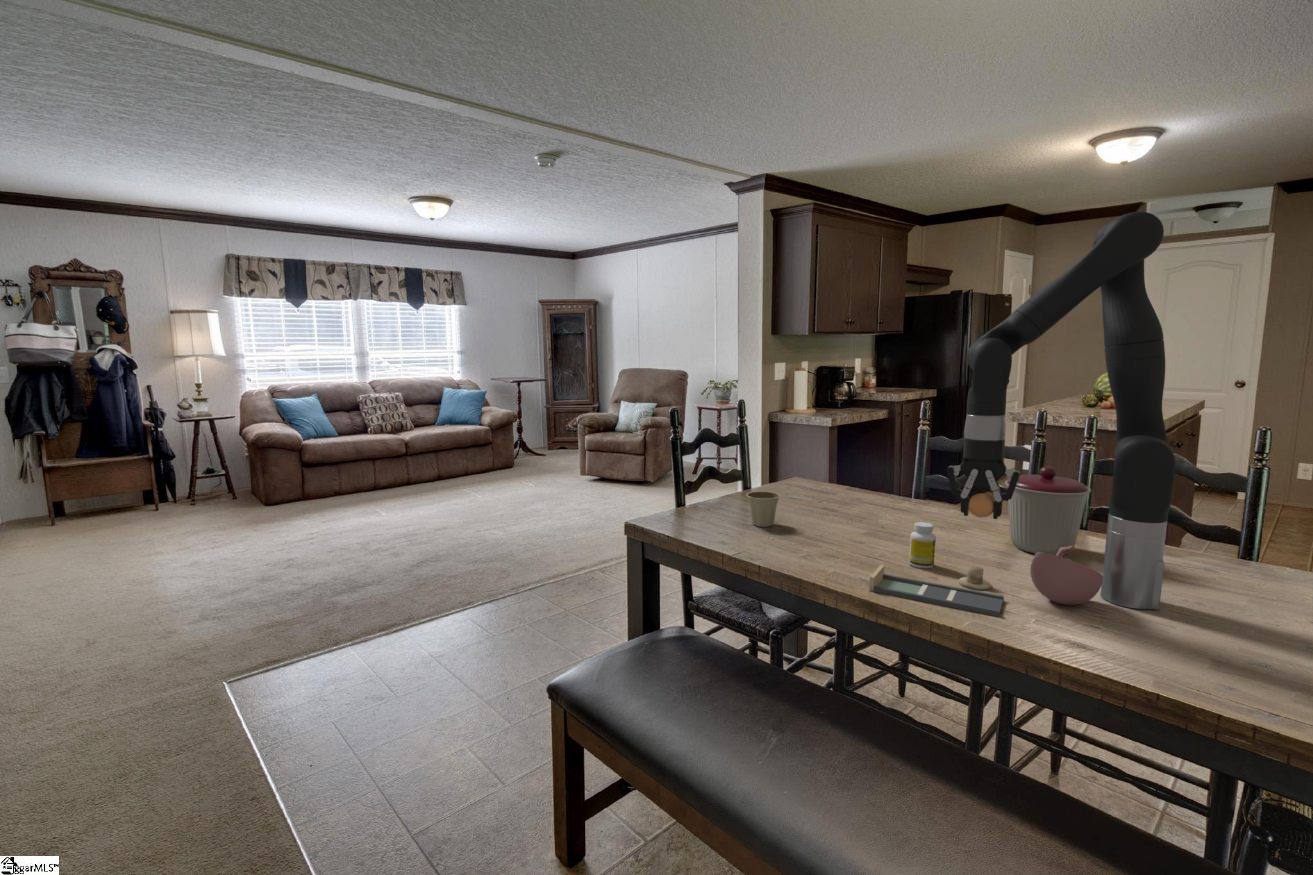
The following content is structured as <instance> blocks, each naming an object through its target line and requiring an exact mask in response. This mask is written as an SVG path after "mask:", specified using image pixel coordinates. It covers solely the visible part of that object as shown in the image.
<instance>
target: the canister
mask: <svg viewBox="0 0 1313 875" xmlns="http://www.w3.org/2000/svg"><path fill="white" fill-rule="evenodd" d="M1004 484H1005V485H1006V487H1007V488H1008V487H1009V484H1010V480H1008V479H1006V480H1005V481H1004ZM1091 491H1092V489H1091V488H1090V487H1088V486H1086V485H1085V484H1084V483H1083V482H1081V481H1078V480H1075V479H1072V478H1069V477H1063V476H1062V477H1061V476H1057V470H1056V468H1054V467H1052V466H1042V467H1041V468H1040V469H1039V474H1020V476H1019V479H1018V482H1017V484H1016V487H1015V490H1014V493H1013V496H1012V498H1011V499H1010V500H1007V501H1008V502H1007V503H1008V504H1007V505H1008V506H1007V507H1008V522H1009V523H1008V524H1009V525H1008V526H1009V534H1010V539H1011V543H1012V544H1013V545H1014V547H1016V548H1018V549H1020V551H1021V550H1022V551H1024V552H1027V553H1031V554H1034V555H1035V554H1036V553H1037V552H1042V553H1051V554H1053V555H1056V554H1057V552H1058V551H1059V549H1060V548H1061V547H1069V546H1074V547H1075V545H1076V543H1077V539H1078V535H1079V531H1080V528H1081V524H1082V519H1083V515H1084V511H1085V506H1086V502H1087V497H1088V495H1089V494H1091ZM1069 553H1072V551H1070V552H1067V553H1065V554H1064V555H1063V556H1065V555H1068V554H1069Z"/></svg>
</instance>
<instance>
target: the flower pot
mask: <svg viewBox="0 0 1313 875" xmlns="http://www.w3.org/2000/svg"><path fill="white" fill-rule="evenodd" d="M746 497H747V500H748V502H749V511H750V516H751V517H750V520H751V525H753V526H757V527H760V528H762V527H763V528H767V527H768V528H769V527H771V526H774V525H775V519H776V513H777V506H778V502H779V498H781V495H780V494H779V493H777V492H772V491H763V490H762V491H751V492H747V493H746Z"/></svg>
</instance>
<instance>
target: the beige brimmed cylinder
mask: <svg viewBox="0 0 1313 875" xmlns="http://www.w3.org/2000/svg"><path fill="white" fill-rule="evenodd" d="M958 584H959V585H960V586H962V587H963V588H965V589H968V590H974V591H986V590H989V589H991V583H990V581H988V580H986V579H984V568H983V567H980V566H977V565H976V566H975V565H970V566H967V575H966V576H963V577H960V578H959V580H958Z"/></svg>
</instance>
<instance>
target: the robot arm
mask: <svg viewBox="0 0 1313 875" xmlns="http://www.w3.org/2000/svg"><path fill="white" fill-rule="evenodd" d="M1164 232H1165V230H1164V225H1163V223H1162V221H1161V220H1160V218H1159V217H1158V216H1156V215H1155V214H1153V213H1151V212H1146V211H1133V212H1132V211H1131V212H1129V213H1125V214H1122V215H1121V216H1118V217H1116V218H1115V219H1113V220H1112V221H1110V222H1108V223H1107V224H1104V226H1102V227H1101V228H1100V229H1099V230H1098V232H1097V233H1096V235H1095V236H1094V239H1093V241H1092V248H1091V249H1090V250H1089V251H1088V252H1087V253H1086V254H1085V255H1084V256H1083V257H1082V258H1080V260H1078V261H1077V262H1076V263H1075V264H1074V265H1072V266H1071V267H1069V269H1067V270H1065V272H1063V273H1062V274H1060V275H1059V276H1057V277H1056V278H1055V279H1053V280H1052V281H1050V282H1049V283H1048V284H1046V285H1045V286H1043V287H1042V288H1041V289H1040V290H1038V291H1037V292H1035V294H1033V295H1032V296H1031V297H1029V298H1028V299H1027V300H1025V301H1024V302H1023V303H1022V304H1021V305H1019V307H1017V308H1016V309H1015V310H1014V311H1013V312H1012V313H1011V314H1010V315H1009V316H1008V317H1007V318H1005V319H1004V320H1003V321H1001V322H1000V323H999V324H998V325H996V326H994V327H993V328H991V329H990V330H988V331H987V332H986V333H984V334H983V335H981V337H979V338H978V339H976V340H975V341H974V342H973V343H972V344H971V345H970V346H969V349H968V350H967V352H966V353H967V354H966V362H967V364H968V366H969V367H970V368H971V369H972V381H971V387H970V388H969V389H968V392H967V393H968V394H967V399H966V400H967V403H966V419H965V424H964V430H963V456H962V457H963V458H962V461H961V463H960V464H959V465H953V464H952V465H949V466H947V467H946V473H947V478H948V482H949V486H950V487H949V488H950V492H951V494H952V495H956V496H957V497H959V498H960V513H961V514H963V516H964V517H968V516H969V512H970V511H969V508H968V501H969V499H970V497H969V494H970V492H971V490H972V487H973V485H974V486H976V485H978V486H979V485H983V486H986V487H990V490H991V492H992V494H993V497H994V500H993V501H994V511H993V512H992V519H993V520H997V519H998V517H1001V516H1002V514H1003V511H1002V510H1003V502H1004V501H1008V500H1010V499H1011V498H1012V496H1013V493H1014V490H1015V487H1016V484H1017V482H1018V479H1019V476H1020V475H1021V471H1020V470H1018V469H1014V470H1013V469H1010V468H1007V466H1006V464H1005V449H1006V448H1005V447H1006V435H1007V434H1006V429H1007V426H1006V400H1007V398H1006V395H1007V388H1008V385H1009V381H1010V377H1011V371H1012V363H1013V355H1014V354H1015V353H1016V352H1018V351H1019V350H1020V349H1021V348H1023V347H1025V346H1027V345H1030V344H1032V343H1033V342H1035V341H1036V340H1038V339H1040V338H1041V336H1043V335H1044V334H1045V333H1046V332H1048V331H1049V330H1050V329H1052V327H1054V326H1055V325H1056V324H1058V322H1060V321H1061V320H1062V319H1063V318H1064V317H1066V316H1067V315H1068V314H1069V313H1070V312H1071V311H1072V310H1074V309H1075V308H1076V307H1077V306H1078V305H1079V304H1081V303H1082V302H1083V301H1085V299H1086V298H1088V297H1089V296H1090V295H1091V294H1093V293H1094V292H1095V291H1097V290H1098V289H1099V288H1100V295H1101V305H1102V307H1101V308H1102V309H1101V310H1102V325H1103V327H1102V328H1103V340H1104V341H1103V344H1104V345H1103V346H1104V357H1105V358H1104V360H1105V365H1106V366H1105V368H1106V372H1107V378H1108V383H1109V388H1110V392H1111V395H1112V398H1113V402H1114V408H1115V414H1116V416H1115V418H1116V436H1115V450H1114V454H1113V455H1114V463H1113V464H1114V465H1113V473H1112V483H1111V493H1110V497H1109V498H1110V500H1109V507H1108V517H1107V518H1108V519H1107V529H1106V537H1105V550H1104V557H1103V558H1104V559H1103V569H1102V576H1103V581H1102V585H1101V587H1100V597H1101V598H1102V599H1104V600H1106V601H1107V602H1109V603H1111V604H1114V605H1118V606H1121V607H1125V608H1129V609H1137V610H1156V611H1159V610H1160V605H1161V597H1162V596H1161V595H1162V589H1163V588H1162V587H1163V579H1164V571H1165V562H1164V552H1165V544H1166V536H1167V526H1168V519H1169V511H1170V510H1171V509H1170V508H1171V505H1172V497H1173V489H1174V481H1175V476H1176V474H1175V473H1176V464H1177V463H1176V456H1175V453H1174V452H1173V451H1172V448H1171V446H1170V444H1169V440H1168V435H1167V432H1166V430H1167V429H1166V426H1165V421H1164V414H1163V399H1164V397H1163V396H1164V389H1165V381H1166V380H1165V379H1166V352H1165V350H1166V349H1165V340H1164V338H1165V337H1164V331H1163V328H1162V325H1161V322H1160V319H1159V318H1158V315H1157V313H1156V311H1155V309H1154V306H1153V304H1152V302H1151V301H1150V298H1149V296H1148V293H1147V289H1146V283H1145V282H1146V281H1145V259H1147V258H1149V257H1150V256H1151V255H1152V254H1153V253H1155V252H1156V251H1157V250H1158V248H1159V247H1160V246H1161V243H1162V242H1163V238H1164ZM960 471H961V472H962V474H963V475H964V476H965V477H966V479H967V480H966V482H965V485H964V487H963V489H961V488H960V487H959V481H958V477H957V476H959V474H960ZM1003 475H1006V480H1010V484H1009V487H1008V486H1007V490H1006V492H1003V493H1002V491H1001V488H1000V487H1001V486H1000V483H999V480H1000V479H1001V478H1002V476H1003Z"/></svg>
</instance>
